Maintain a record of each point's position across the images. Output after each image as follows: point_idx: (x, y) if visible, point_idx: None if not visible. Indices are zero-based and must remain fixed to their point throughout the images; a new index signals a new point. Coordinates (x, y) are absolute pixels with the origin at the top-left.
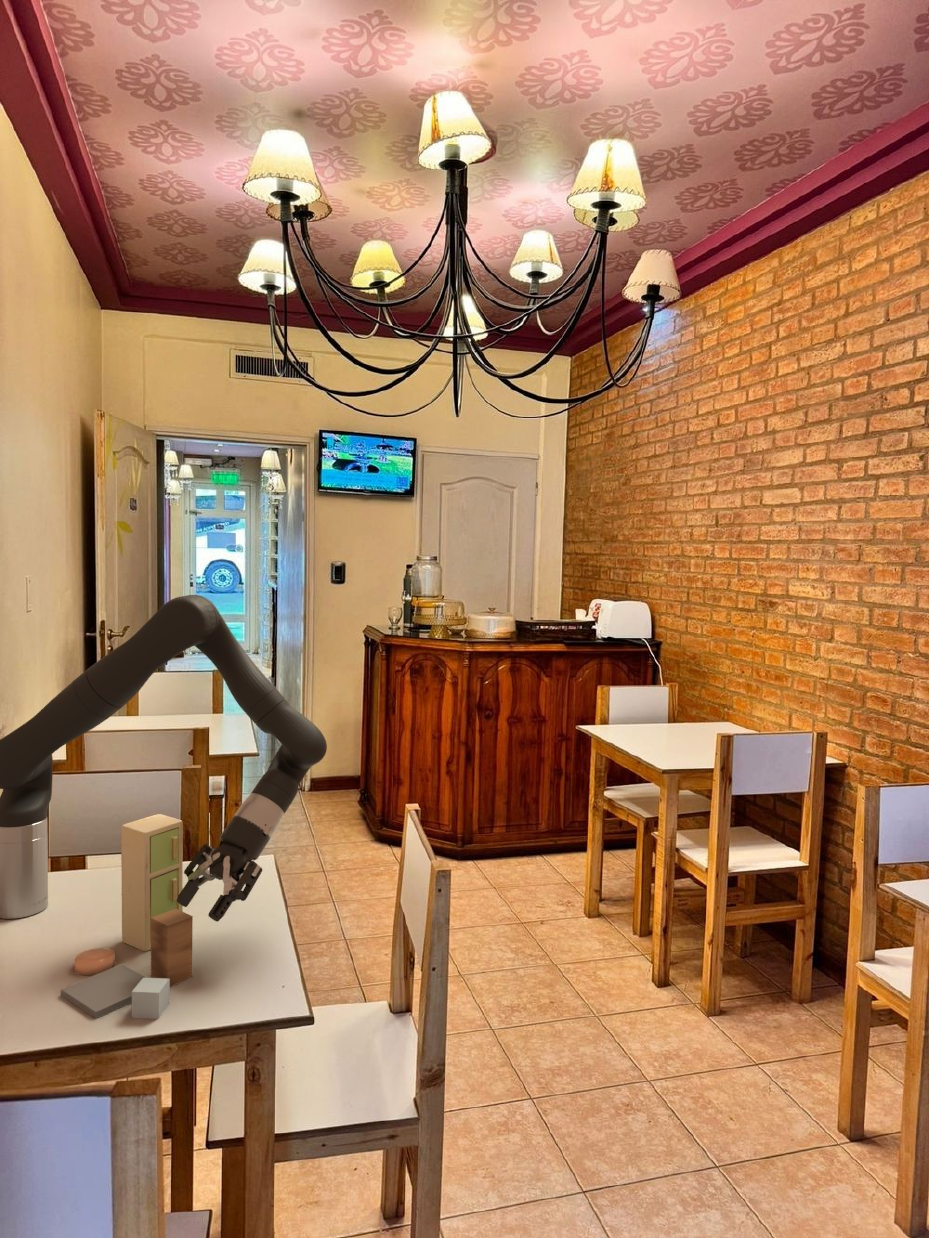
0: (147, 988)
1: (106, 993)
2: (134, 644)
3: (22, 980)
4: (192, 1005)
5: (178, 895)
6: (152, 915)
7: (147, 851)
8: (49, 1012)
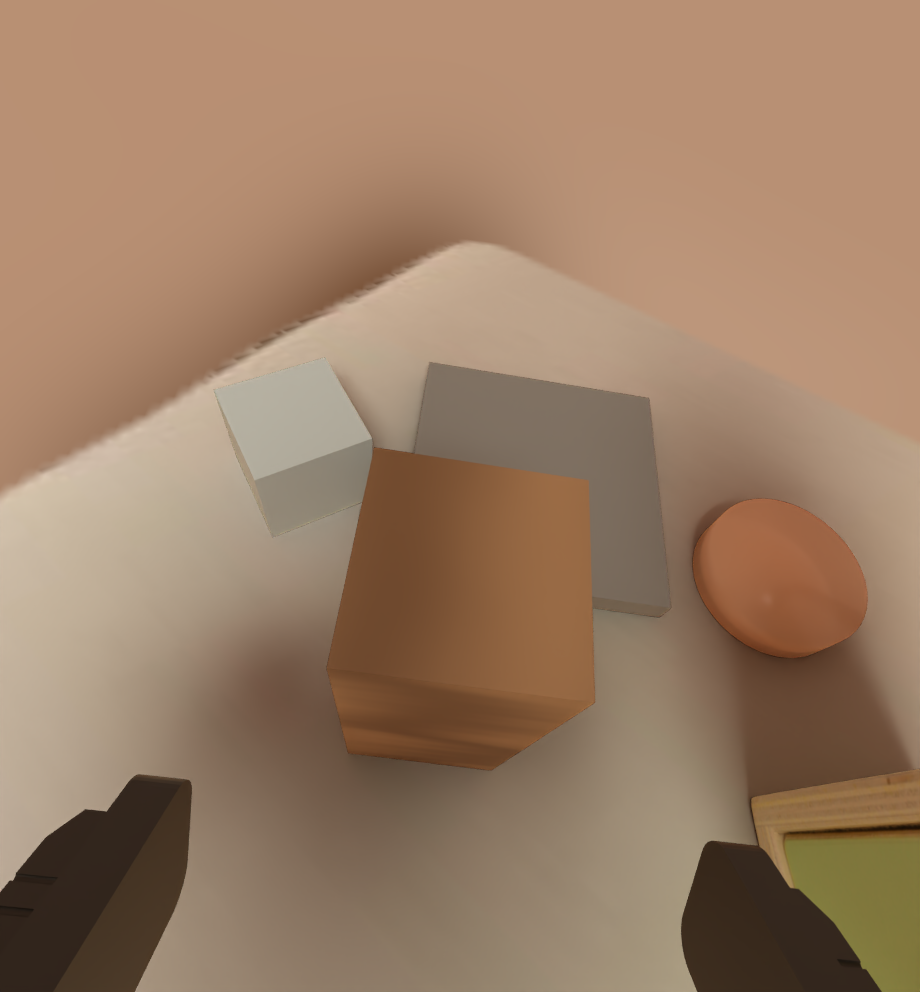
0: (284, 392)
1: (503, 439)
2: None
3: (814, 417)
4: (168, 570)
5: (824, 913)
6: (910, 851)
7: None
8: (572, 350)
